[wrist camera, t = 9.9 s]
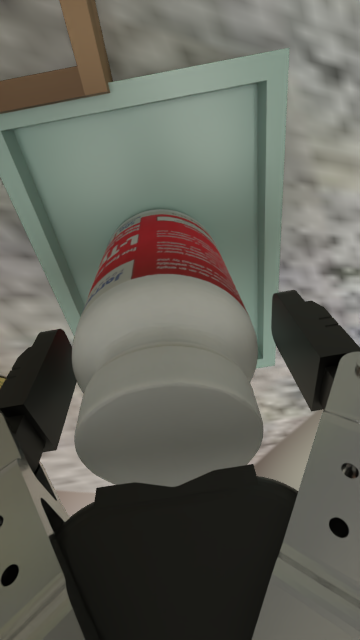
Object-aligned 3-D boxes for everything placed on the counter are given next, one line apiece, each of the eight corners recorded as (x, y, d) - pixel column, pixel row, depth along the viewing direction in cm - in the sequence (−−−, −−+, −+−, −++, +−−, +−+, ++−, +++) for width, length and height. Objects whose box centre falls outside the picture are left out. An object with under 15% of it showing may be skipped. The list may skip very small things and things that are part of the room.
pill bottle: (127, 184, 14) (75, 310, 5) (237, 234, 16) (352, 397, 7) (92, 291, 17) (20, 492, 8) (187, 323, 19) (219, 517, 10)
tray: (-7, 110, 13) (-31, 109, 11) (271, 57, 12) (289, 47, 11) (104, 372, 22) (100, 393, 20) (265, 346, 21) (274, 365, 20)
